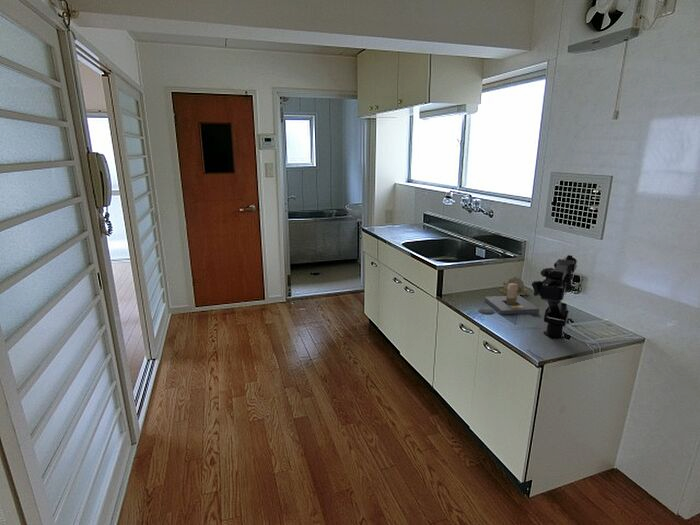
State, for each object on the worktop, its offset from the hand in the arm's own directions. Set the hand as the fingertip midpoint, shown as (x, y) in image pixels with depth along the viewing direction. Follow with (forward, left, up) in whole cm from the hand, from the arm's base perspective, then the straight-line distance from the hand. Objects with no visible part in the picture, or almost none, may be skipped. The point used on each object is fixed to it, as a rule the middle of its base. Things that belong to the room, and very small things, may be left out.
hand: (542, 294), depth 194 cm
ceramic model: (+37, -6, -13) cm, 40 cm away
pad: (+9, +24, -13) cm, 28 cm away
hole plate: (+15, +8, -13) cm, 21 cm away
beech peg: (+14, +8, -13) cm, 21 cm away
